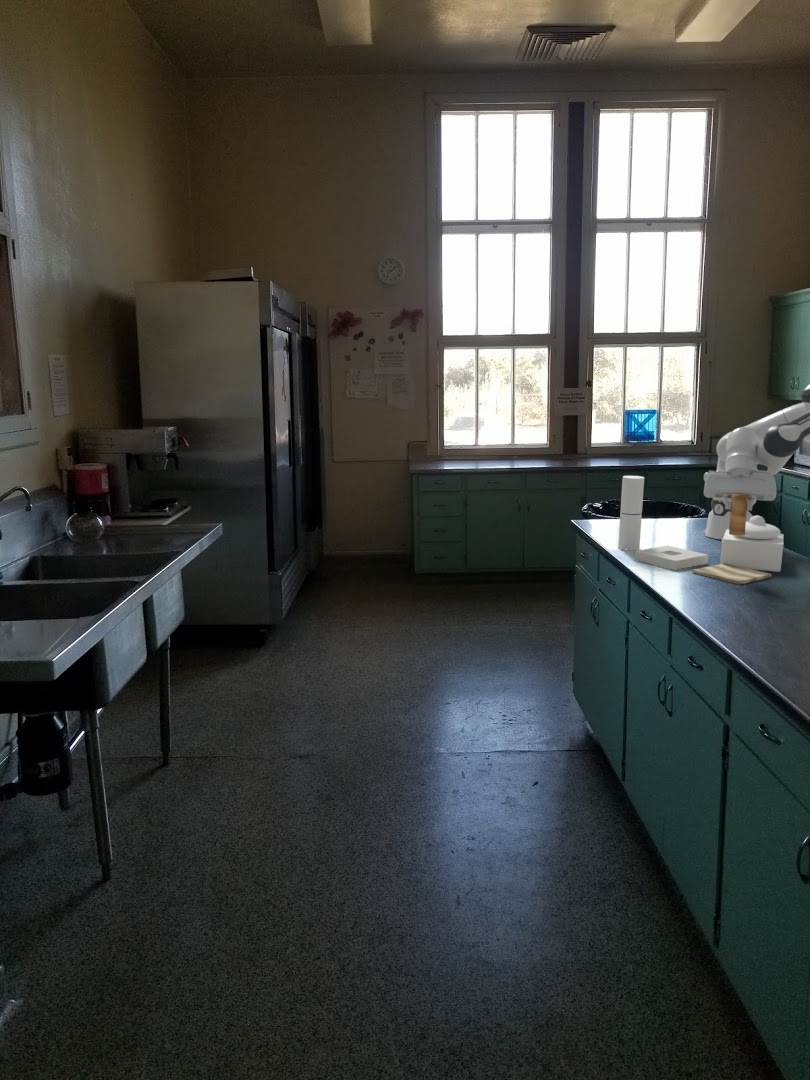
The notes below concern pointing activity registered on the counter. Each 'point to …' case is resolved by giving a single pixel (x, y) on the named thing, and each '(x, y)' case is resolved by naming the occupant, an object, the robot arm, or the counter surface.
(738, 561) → the butter dish
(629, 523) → the cylindrical container
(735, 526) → the plug
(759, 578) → the board
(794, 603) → the counter surface
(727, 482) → the robot arm
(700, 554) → the socket block
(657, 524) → the counter surface
